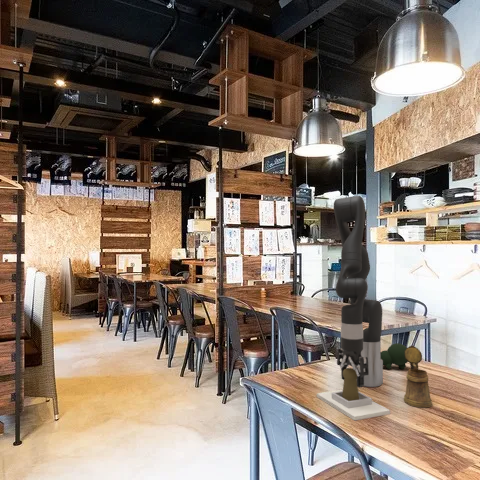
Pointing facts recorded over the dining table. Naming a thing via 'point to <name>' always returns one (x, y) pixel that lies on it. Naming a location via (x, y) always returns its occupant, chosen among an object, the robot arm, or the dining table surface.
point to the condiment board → (353, 405)
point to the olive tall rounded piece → (350, 385)
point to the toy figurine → (394, 356)
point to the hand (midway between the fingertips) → (352, 382)
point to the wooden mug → (416, 381)
